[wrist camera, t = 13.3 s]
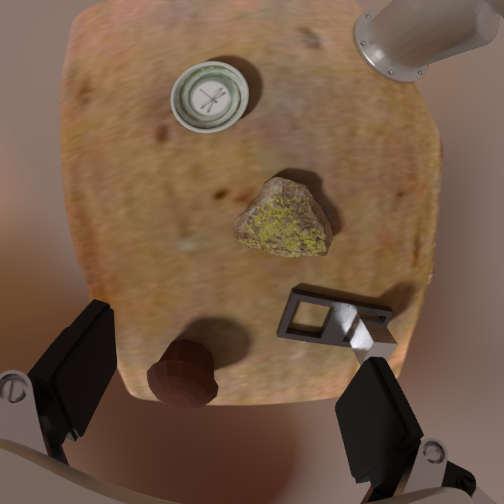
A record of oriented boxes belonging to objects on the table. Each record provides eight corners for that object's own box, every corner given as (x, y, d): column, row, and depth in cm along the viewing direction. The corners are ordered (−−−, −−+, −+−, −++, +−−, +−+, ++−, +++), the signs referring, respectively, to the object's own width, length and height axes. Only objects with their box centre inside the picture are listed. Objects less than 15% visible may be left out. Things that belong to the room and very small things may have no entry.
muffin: (218, 335, 43) (211, 379, 33) (224, 380, 47) (220, 422, 37) (150, 332, 43) (131, 372, 33) (164, 377, 47) (151, 416, 37)
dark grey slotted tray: (291, 288, 40) (293, 293, 38) (390, 307, 41) (394, 312, 40) (276, 331, 42) (277, 336, 41) (370, 344, 44) (373, 349, 42)
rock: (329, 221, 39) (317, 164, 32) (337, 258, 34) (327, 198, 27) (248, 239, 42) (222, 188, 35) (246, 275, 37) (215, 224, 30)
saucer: (199, 55, 28) (196, 50, 26) (263, 85, 30) (264, 81, 28) (162, 115, 31) (156, 113, 29) (225, 147, 33) (222, 146, 31)
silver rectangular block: (356, 311, 41) (373, 342, 33) (378, 315, 41) (397, 344, 34) (346, 333, 42) (360, 365, 35) (367, 336, 43) (384, 366, 35)
